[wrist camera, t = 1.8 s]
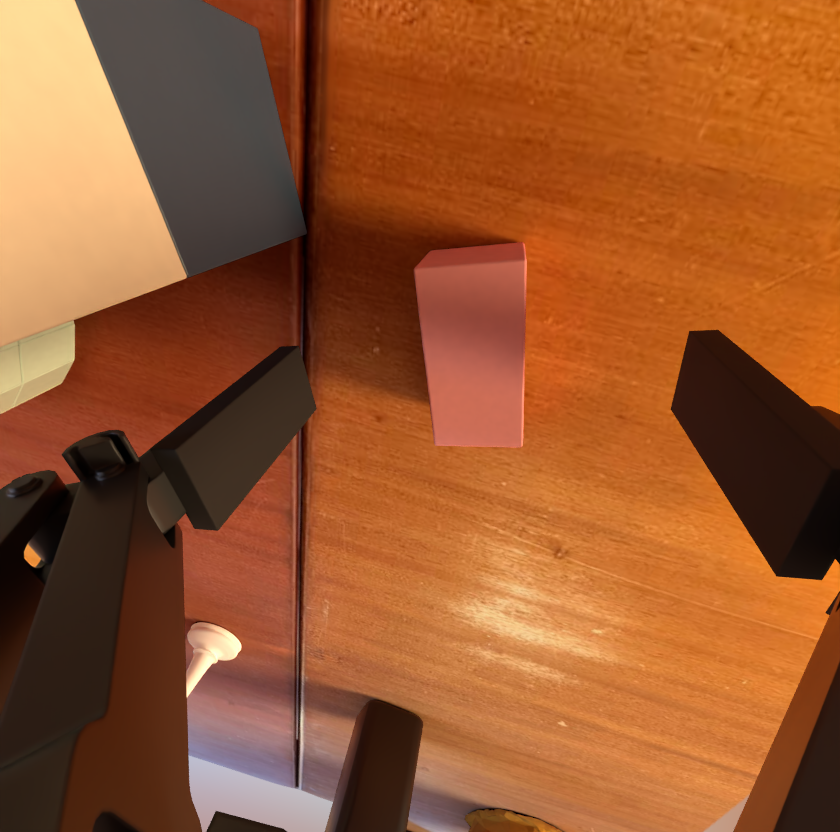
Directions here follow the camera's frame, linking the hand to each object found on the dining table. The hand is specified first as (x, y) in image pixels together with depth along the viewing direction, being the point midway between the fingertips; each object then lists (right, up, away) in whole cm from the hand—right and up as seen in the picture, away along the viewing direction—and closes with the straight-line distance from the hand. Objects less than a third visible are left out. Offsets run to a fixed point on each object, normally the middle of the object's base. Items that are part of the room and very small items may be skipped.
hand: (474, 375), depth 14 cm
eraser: (+1, +2, +2) cm, 3 cm away
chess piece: (-21, -22, +23) cm, 38 cm away
